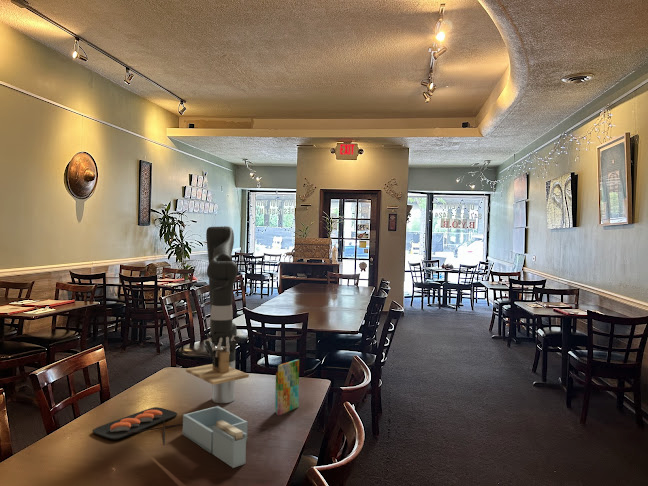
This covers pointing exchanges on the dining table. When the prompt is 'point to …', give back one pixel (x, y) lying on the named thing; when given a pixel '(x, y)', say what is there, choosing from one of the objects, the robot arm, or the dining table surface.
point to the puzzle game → (287, 387)
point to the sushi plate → (136, 423)
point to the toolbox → (217, 434)
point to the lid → (218, 371)
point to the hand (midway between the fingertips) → (220, 366)
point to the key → (230, 429)
